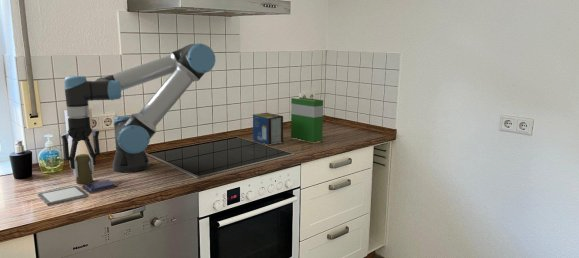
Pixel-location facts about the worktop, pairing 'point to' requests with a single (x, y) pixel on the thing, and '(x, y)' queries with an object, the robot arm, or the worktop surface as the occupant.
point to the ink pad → (99, 186)
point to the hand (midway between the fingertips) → (84, 174)
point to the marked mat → (62, 195)
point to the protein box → (267, 128)
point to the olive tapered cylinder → (83, 169)
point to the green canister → (307, 119)
